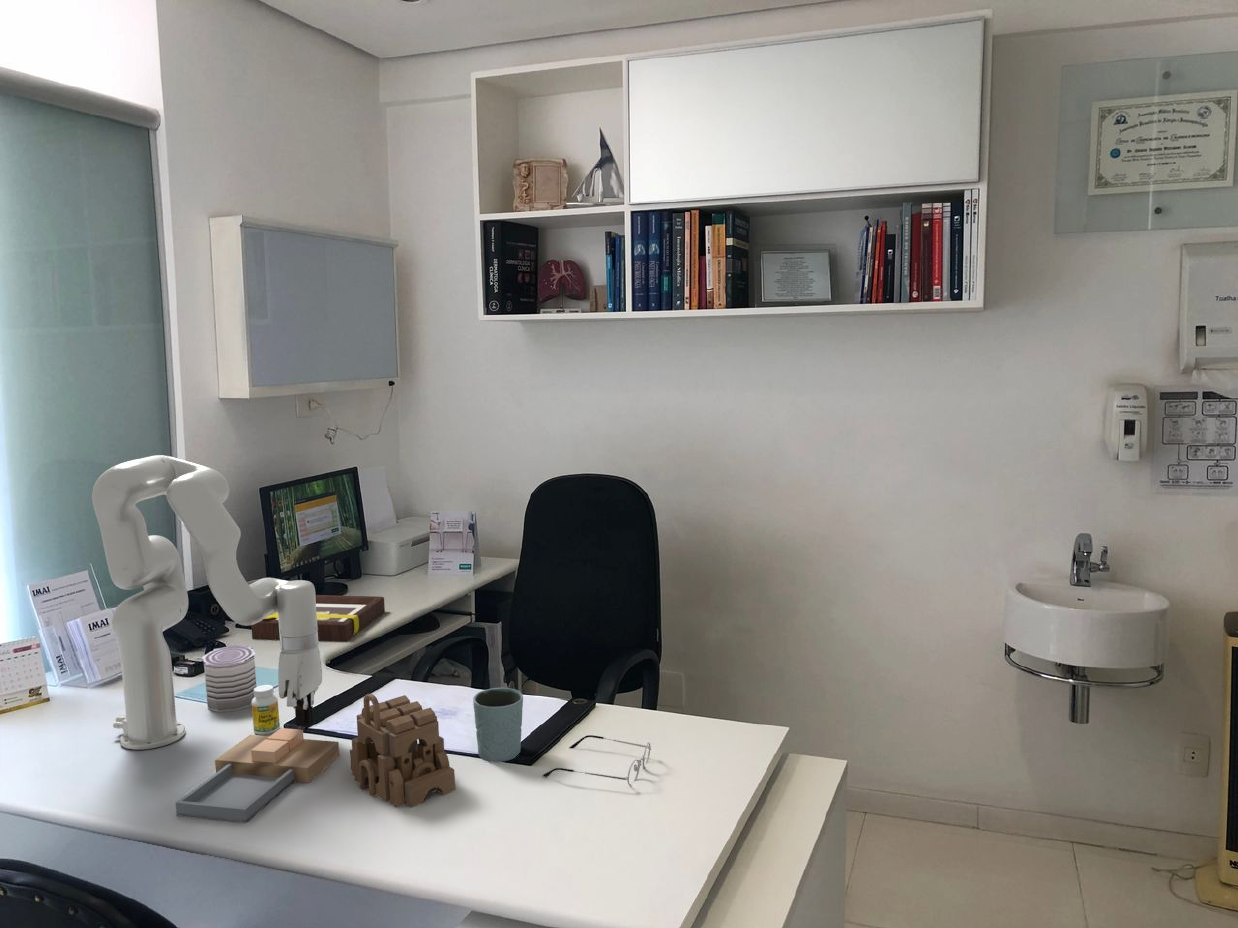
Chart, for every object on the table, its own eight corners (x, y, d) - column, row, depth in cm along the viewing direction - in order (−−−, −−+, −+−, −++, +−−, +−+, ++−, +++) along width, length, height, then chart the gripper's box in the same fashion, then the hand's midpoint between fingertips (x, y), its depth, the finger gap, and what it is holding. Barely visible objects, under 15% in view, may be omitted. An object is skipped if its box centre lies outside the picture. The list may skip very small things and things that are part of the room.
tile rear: (267, 748, 196) (267, 738, 196) (281, 738, 201) (280, 727, 201) (290, 750, 195) (289, 739, 195) (303, 739, 200) (302, 729, 200)
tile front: (251, 760, 191) (251, 749, 191) (266, 749, 196) (265, 739, 195) (274, 762, 190) (274, 751, 189) (288, 751, 195) (288, 741, 194)
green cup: (498, 738, 206) (496, 683, 205) (535, 749, 200) (533, 693, 199) (464, 756, 198) (462, 699, 196) (502, 768, 192) (499, 710, 191)
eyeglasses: (631, 795, 181) (630, 770, 180) (539, 781, 188) (538, 756, 187) (657, 759, 196) (657, 735, 195) (571, 746, 202) (571, 723, 202)
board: (215, 774, 192) (214, 759, 192) (251, 748, 204) (250, 734, 203) (308, 782, 188) (307, 767, 187) (339, 755, 199) (338, 741, 199)
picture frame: (347, 620, 271) (246, 617, 275) (349, 643, 272) (247, 640, 276) (385, 592, 298) (292, 590, 303) (386, 614, 299) (294, 611, 303)
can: (267, 694, 233) (264, 646, 232) (241, 713, 222) (237, 662, 221) (224, 692, 235) (220, 644, 234) (195, 710, 224) (191, 660, 223)
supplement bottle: (276, 723, 216) (273, 681, 215) (282, 731, 212) (279, 688, 211) (251, 729, 213) (247, 686, 212) (257, 737, 209) (253, 694, 208)
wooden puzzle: (464, 786, 185) (460, 692, 183) (396, 814, 175) (391, 714, 173) (403, 751, 201) (399, 664, 198) (338, 774, 191) (332, 683, 189)
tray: (176, 815, 176) (175, 802, 176) (229, 775, 191) (228, 763, 191) (246, 822, 173) (245, 809, 173) (294, 781, 188) (293, 769, 188)
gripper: (301, 628, 211) (307, 710, 213) (262, 651, 196) (269, 738, 199) (333, 630, 209) (338, 712, 212) (296, 653, 195) (302, 741, 197)
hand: (305, 724), depth 205 cm, fingers closed
